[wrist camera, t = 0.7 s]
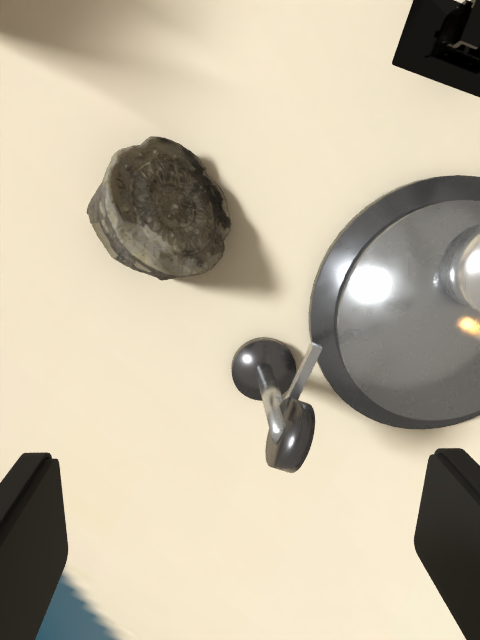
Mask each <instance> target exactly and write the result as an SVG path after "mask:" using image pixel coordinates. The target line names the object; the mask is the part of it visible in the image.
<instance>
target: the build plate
mask: <svg viewBox="0 0 480 640" xmlns="http://www.w3.org/2000/svg"><path fill="white" fill-rule="evenodd" d="M392 64H393V65H395V66H397V67H400V68H403V69H405V70H408V71H411V72H413V73H416V74H419V75H421V76H424V77H427V78H429V79H432V80H435V81H437V82H440V83H443V84H445V85H448V86H451V87H453V88H456V89H459V90H462V91H464V92H467V93H470V94H472V95H475V96H478V97H480V0H471V1H468V0H465V1H464V2H463V3H462V4H461V3H459V2H457V1H454V0H413V3H412V6H411V9H410V12H409V15H408V18H407V20H406V23H405V26H404V29H403V32H402V35H401V38H400V41H399V44H398V47H397V49H396V52H395V55H394V58H393V61H392Z"/></svg>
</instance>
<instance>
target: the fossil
mask: <svg viewBox="0 0 480 640" xmlns="http://www.w3.org/2000/svg"><path fill="white" fill-rule="evenodd" d="M87 214H88V215H89V219H90V223H91V224H92V226H93V228H94V230H95V231H96V233H97V236H98V238H99V239H100V240H101V242H102V243H103V245H104V247H105V248H106V250H107V251H108V253H109V254H110V256H111V257H112V258H114V259H115V260H117V261H119V262H120V263H122V264H123V265H125V266H127V267H130V268H131V269H133V270H136V271H139V272H143V273H146V274H148V275H151V276H154V277H157V278H158V279H160V280H168V279H171V278H176V277H186V276H192V275H198V274H202V273H205V272H207V271H208V270H210V269H211V268H213V267H214V266H215V264H216V263H217V262H218V261H219V260H220V258H221V257H222V256H223V252H224V239H225V237H226V236H227V235H228V233H229V231H230V227H231V220H230V215H229V212H228V208H227V203H226V199H225V197H224V194H223V192H222V190H221V188H220V187H219V186H218V185H217V184H216V183H215V182H214V181H213V180H212V179H211V178H210V177H209V176H208V175H207V174H206V168H205V167H204V166H203V165H202V163H201V161H200V159H199V158H198V157H197V156H196V155H194V154H193V153H192V152H191V151H189V150H187V149H186V148H184V147H183V146H182V145H180V144H179V143H176V142H174V141H172V140H169V139H166V138H162V137H149V138H148V139H146V140H145V141H144V142H143V143H142V144H141V145H137V146H131V147H128V148H124V149H121V150H119V151H117V152H116V153H115V154H114V155H113V157H112V159H111V162H110V164H109V166H108V168H107V170H106V173H105V175H104V178H103V181H102V183H101V185H100V186H99V188H98V189H97V191H96V193H95V194H94V196H93V198H92V199H91V201H90V203H89V205H88V208H87Z"/></svg>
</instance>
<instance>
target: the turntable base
mask: <svg viewBox="0 0 480 640" xmlns="http://www.w3.org/2000/svg"><path fill="white" fill-rule="evenodd" d="M453 200H474V201H480V177H475V176H460V175H456V176H443V177H433V178H429V179H424V180H420V181H415V182H413V183H410V184H407V185H404V186H401V187H399V188H397V189H395V190H393V191H391V192H389V193H387V194H385V195H383V196H381V197H380V198H378V199H377V200H375V201H374V202H372V203H371V204H370V205H368V206H367V207H365V208H364V209H363V210H362V211H361V212H360V213H359V214H357V215H356V216H355V217H354V218H353V219H352V220H351V221H350V222H349V223H348V224H347V225H346V227H345V228H344V229H343V230H342V231H341V232H340V233H339V235H338V236H337V238H336V239H335V240H334V242H333V243H332V245H331V246H330V248H329V249H328V251H327V253H326V255H325V257H324V259H323V261H322V263H321V265H320V267H319V270H318V273H317V275H316V278H315V280H314V285H313V289H312V293H311V297H310V306H309V332H310V338H311V342H313V343H316V344H318V345H320V346H321V347H322V350H321V352H320V355H319V357H318V359H317V362H318V364H319V367H320V369H321V371H322V373H323V374H324V376H325V378H326V379H327V380H328V382H329V383H330V385H331V386H332V388H333V389H334V391H335V392H336V393H337V394H338V395H339V396H340V397H341V398H342V399H343V400H344V401H345V402H346V403H347V404H349V405H350V406H351V407H352V408H353V409H355V410H356V411H358V412H360V413H361V414H363V415H365V416H366V417H368V418H371V419H373V420H375V421H378V422H380V423H383V424H387V425H390V426H394V427H400V428H407V429H431V428H440V427H445V426H450V425H454V424H458V423H461V422H463V421H466V420H469V419H472V418H474V417H476V416H478V415H480V411H477V412H475V413H472V414H469V415H466V416H462V417H458V418H453V419H447V420H437V421H436V420H418V419H411V418H407V417H404V416H400V415H397V414H395V413H393V412H390V411H388V410H386V409H384V408H383V407H381V406H379V405H378V404H376V403H375V402H374V401H372V400H371V399H370V398H369V397H368V396H366V395H365V394H364V392H363V391H362V390H361V389H360V388H359V387H358V386H357V385H356V383H355V382H354V381H353V379H352V378H351V377H350V375H349V373H348V372H347V370H346V369H345V367H344V365H343V363H342V361H341V358H340V356H339V353H338V349H337V346H336V341H335V334H334V312H335V304H336V300H337V296H338V292H339V288H340V286H341V283H342V281H343V278H344V276H345V274H346V272H347V270H348V268H349V266H350V264H351V263H352V261H353V259H354V258H355V257H356V255H357V254H358V252H359V251H360V250H361V248H362V247H363V246H364V245H365V244H366V243H367V242H368V241H369V240H370V238H371V237H372V236H373V235H375V234H376V233H377V232H378V231H379V230H380V229H382V228H383V227H384V226H385V225H387V224H388V223H390V222H391V221H393V220H394V219H396V218H397V217H399V216H401V215H403V214H405V213H407V212H409V211H411V210H413V209H416V208H419V207H422V206H424V205H427V204H432V203H437V202H441V201H453Z"/></svg>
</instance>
